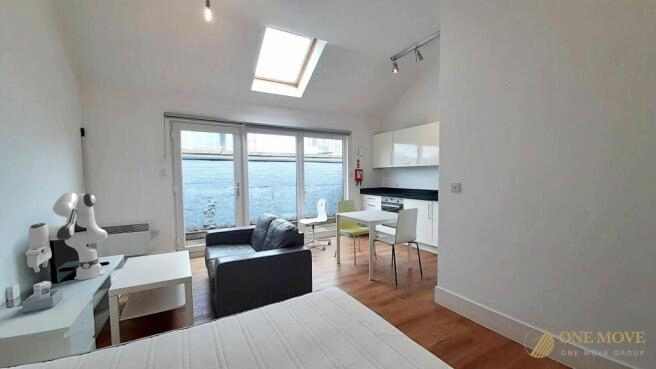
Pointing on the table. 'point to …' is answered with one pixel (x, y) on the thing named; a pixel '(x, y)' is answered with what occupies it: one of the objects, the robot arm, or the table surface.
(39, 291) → the syrup box
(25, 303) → the crate
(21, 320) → the table surface
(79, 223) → the robot arm
